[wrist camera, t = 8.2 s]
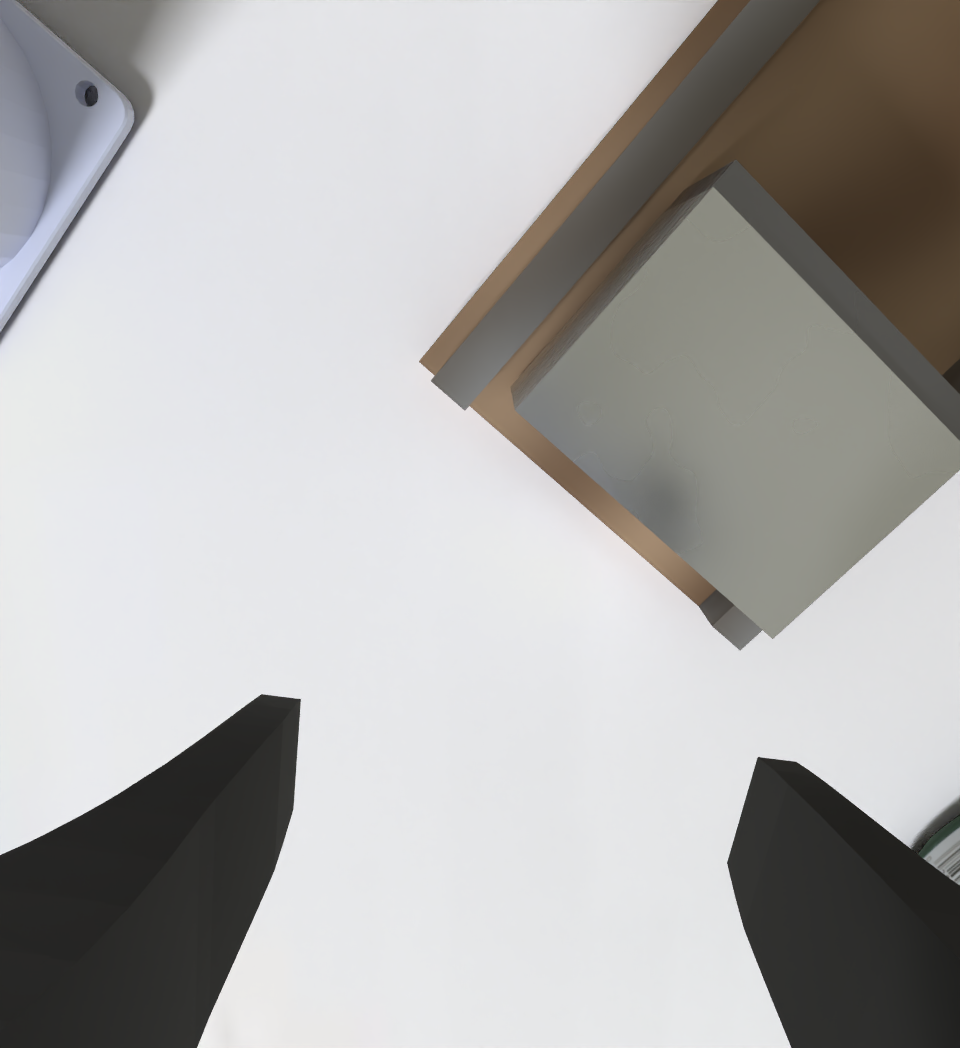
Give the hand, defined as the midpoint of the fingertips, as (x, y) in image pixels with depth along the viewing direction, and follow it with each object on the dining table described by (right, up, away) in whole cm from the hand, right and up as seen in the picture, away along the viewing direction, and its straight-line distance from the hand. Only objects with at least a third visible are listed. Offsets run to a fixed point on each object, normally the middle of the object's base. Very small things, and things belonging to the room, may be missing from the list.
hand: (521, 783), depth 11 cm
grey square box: (+5, +7, +6) cm, 10 cm away
